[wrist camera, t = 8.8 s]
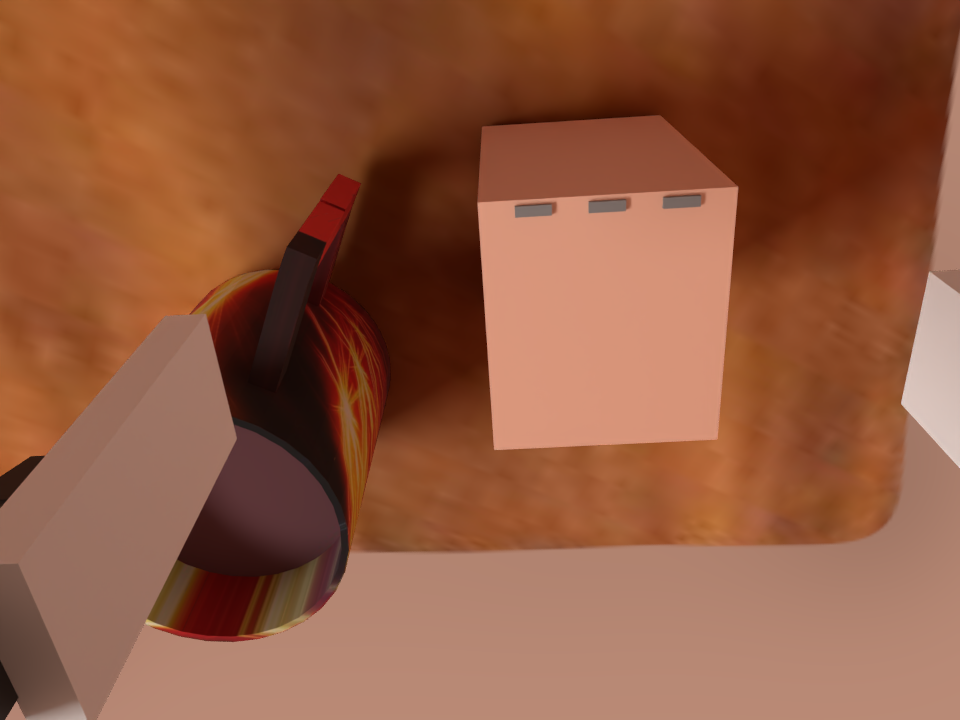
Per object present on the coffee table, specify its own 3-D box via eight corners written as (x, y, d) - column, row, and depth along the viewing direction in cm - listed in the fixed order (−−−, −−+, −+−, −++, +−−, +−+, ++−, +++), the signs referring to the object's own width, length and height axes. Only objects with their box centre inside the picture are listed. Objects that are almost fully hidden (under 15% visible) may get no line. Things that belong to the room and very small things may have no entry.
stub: (482, 126, 31) (477, 204, 21) (660, 115, 31) (739, 188, 21) (493, 312, 35) (494, 452, 25) (653, 303, 35) (718, 441, 25)
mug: (363, 165, 32) (300, 265, 22) (403, 448, 39) (368, 635, 28) (133, 181, 33) (-41, 288, 22) (208, 459, 39) (101, 647, 28)
